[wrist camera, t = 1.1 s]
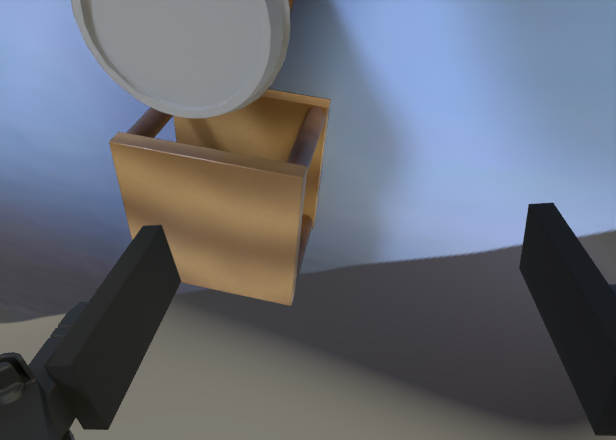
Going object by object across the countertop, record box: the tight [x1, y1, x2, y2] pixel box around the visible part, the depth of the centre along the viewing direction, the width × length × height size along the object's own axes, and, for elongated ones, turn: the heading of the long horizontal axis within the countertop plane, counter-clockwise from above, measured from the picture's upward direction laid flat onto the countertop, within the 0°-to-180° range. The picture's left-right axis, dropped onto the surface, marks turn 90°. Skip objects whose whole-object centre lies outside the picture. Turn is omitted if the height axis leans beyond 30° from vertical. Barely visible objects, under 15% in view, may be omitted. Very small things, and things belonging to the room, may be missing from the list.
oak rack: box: [109, 89, 331, 306], centre depth 34 cm, size 12×12×10 cm
